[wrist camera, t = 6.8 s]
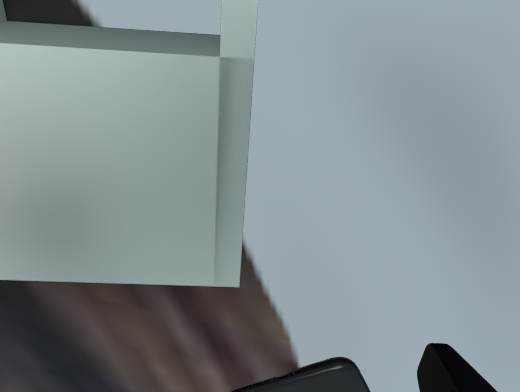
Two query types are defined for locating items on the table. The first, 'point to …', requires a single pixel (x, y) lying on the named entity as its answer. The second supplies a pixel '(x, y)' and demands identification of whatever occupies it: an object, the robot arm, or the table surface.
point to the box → (125, 151)
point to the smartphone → (316, 379)
